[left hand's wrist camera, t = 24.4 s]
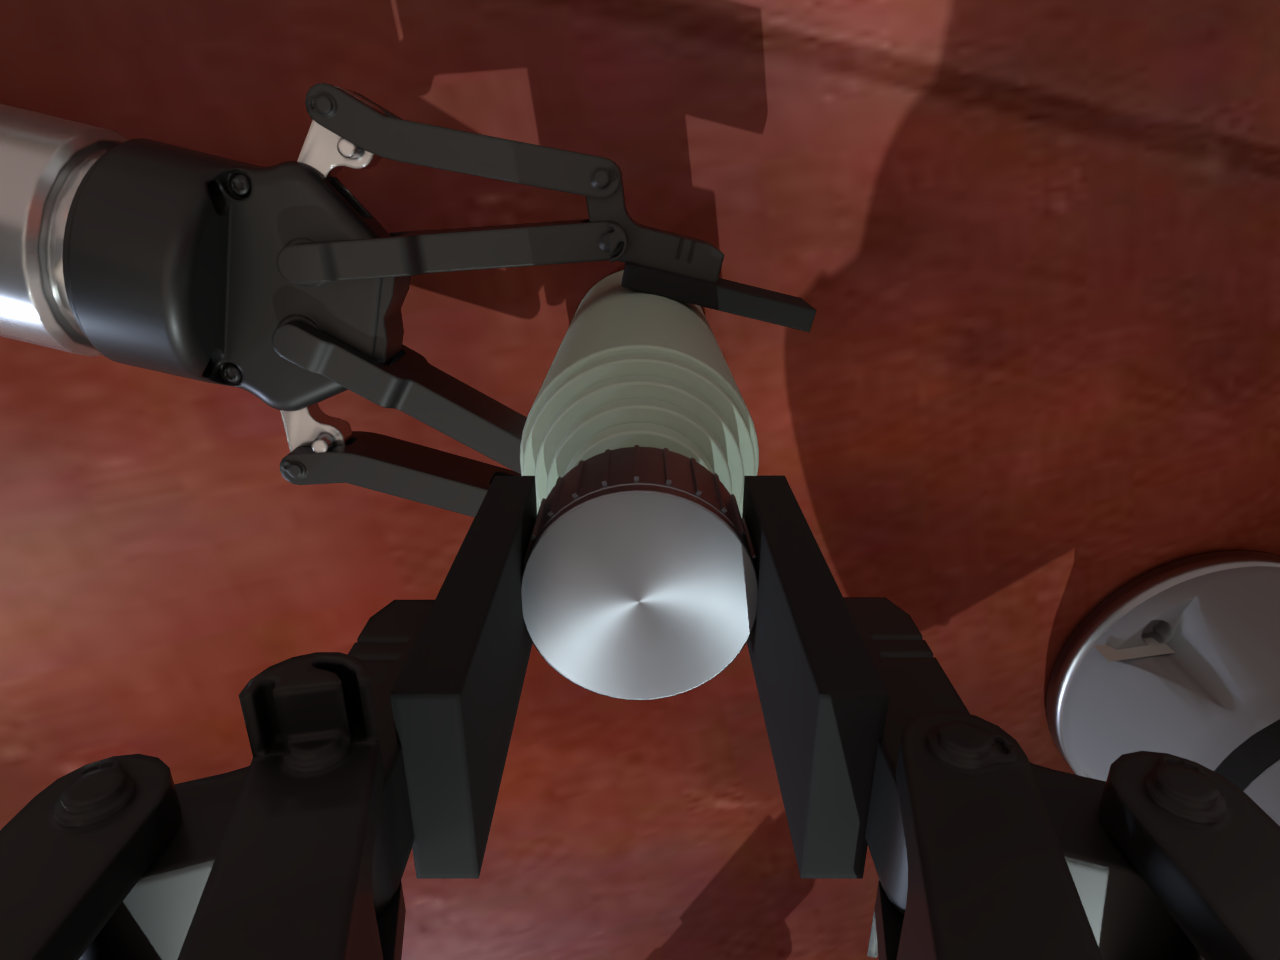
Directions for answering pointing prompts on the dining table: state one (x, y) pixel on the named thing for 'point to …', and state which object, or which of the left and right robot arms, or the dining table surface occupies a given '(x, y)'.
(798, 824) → the left robot arm
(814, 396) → the dining table surface
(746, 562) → the cap
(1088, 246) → the dining table surface
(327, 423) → the right robot arm
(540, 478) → the bottle
